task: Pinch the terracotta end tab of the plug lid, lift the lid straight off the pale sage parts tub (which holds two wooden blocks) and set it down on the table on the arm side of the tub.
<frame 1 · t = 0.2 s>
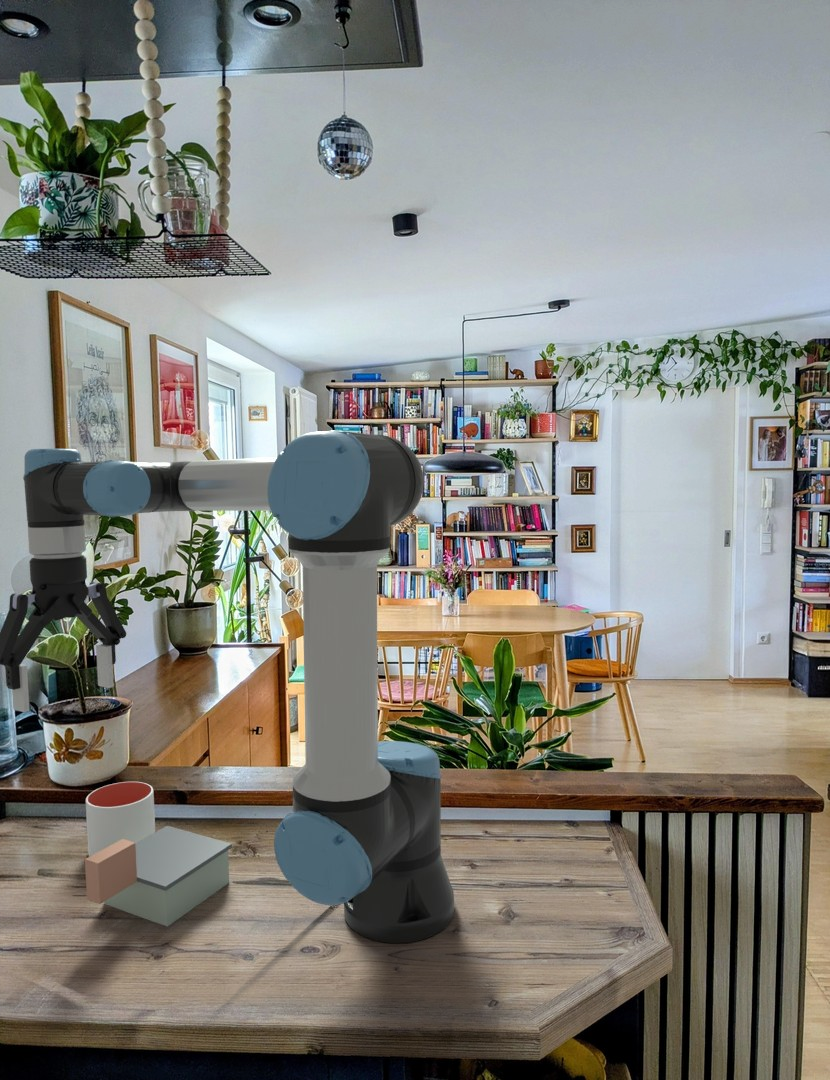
hand: (65, 698, 112), 27 cm above the worktop, fingers open, 13 cm apart
lid: (166, 857, 107), point 6 cm above the worktop, touching tub
cup: (122, 855, 121), on the worktop
part b: (155, 888, 109), point 1 cm above the worktop, touching tub
part a: (181, 897, 107), point 1 cm above the worktop, touching tub
tub: (168, 898, 108), on the worktop
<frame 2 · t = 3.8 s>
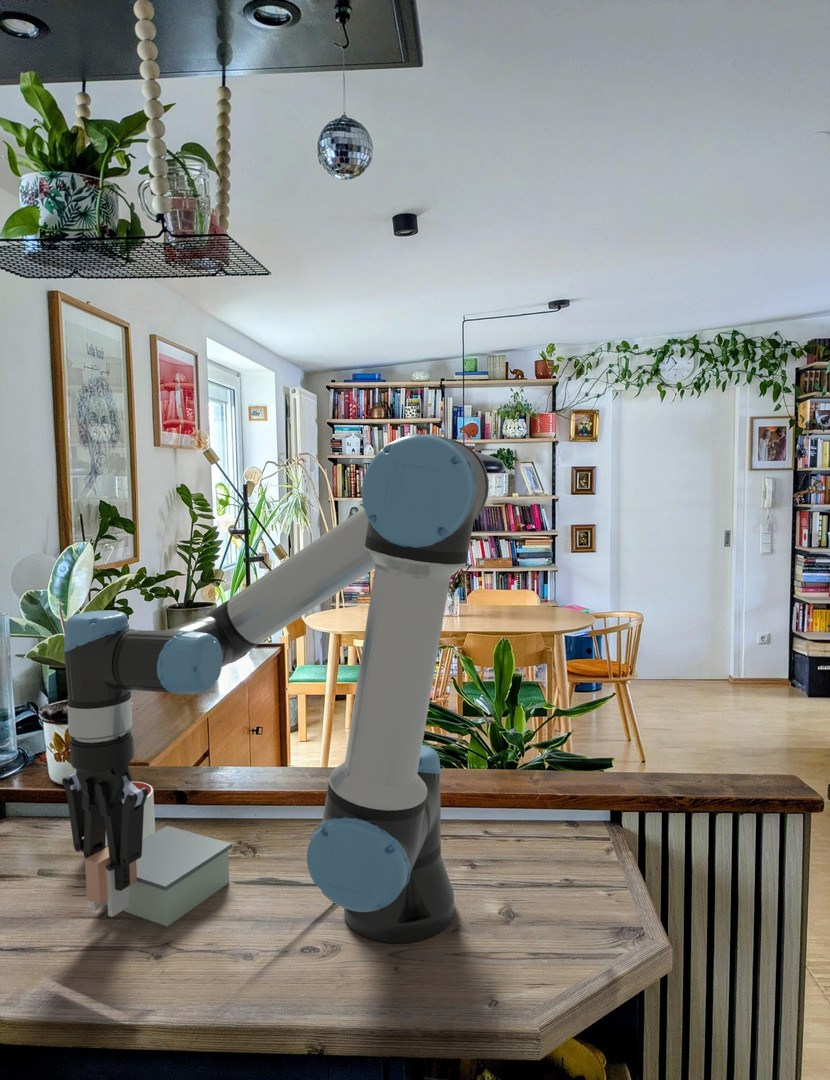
hand: (110, 907, 99), 4 cm above the worktop, fingers closed on lid, 2 cm apart
lid: (166, 857, 107), point 6 cm above the worktop, touching gripper, tub
everything else where it was.
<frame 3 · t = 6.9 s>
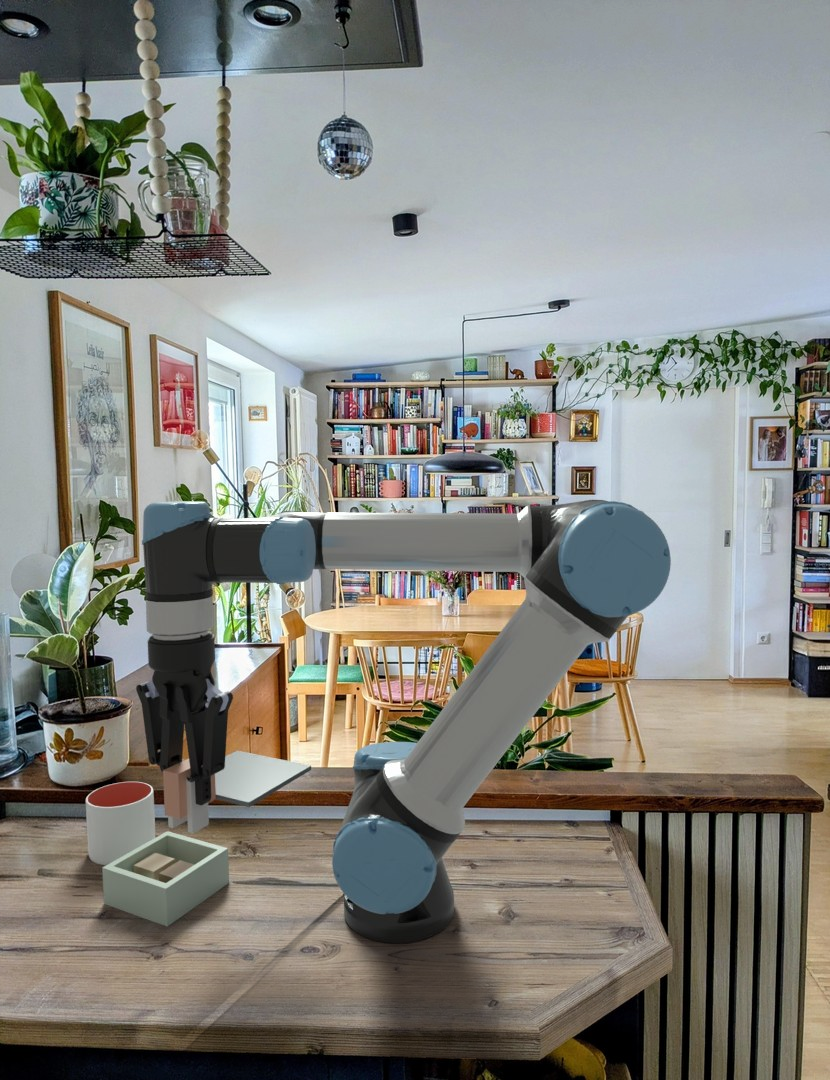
hand: (188, 825, 91), 18 cm above the worktop, fingers closed on lid, 2 cm apart
lid: (242, 778, 100), point 20 cm above the worktop, touching gripper
everything else where it was.
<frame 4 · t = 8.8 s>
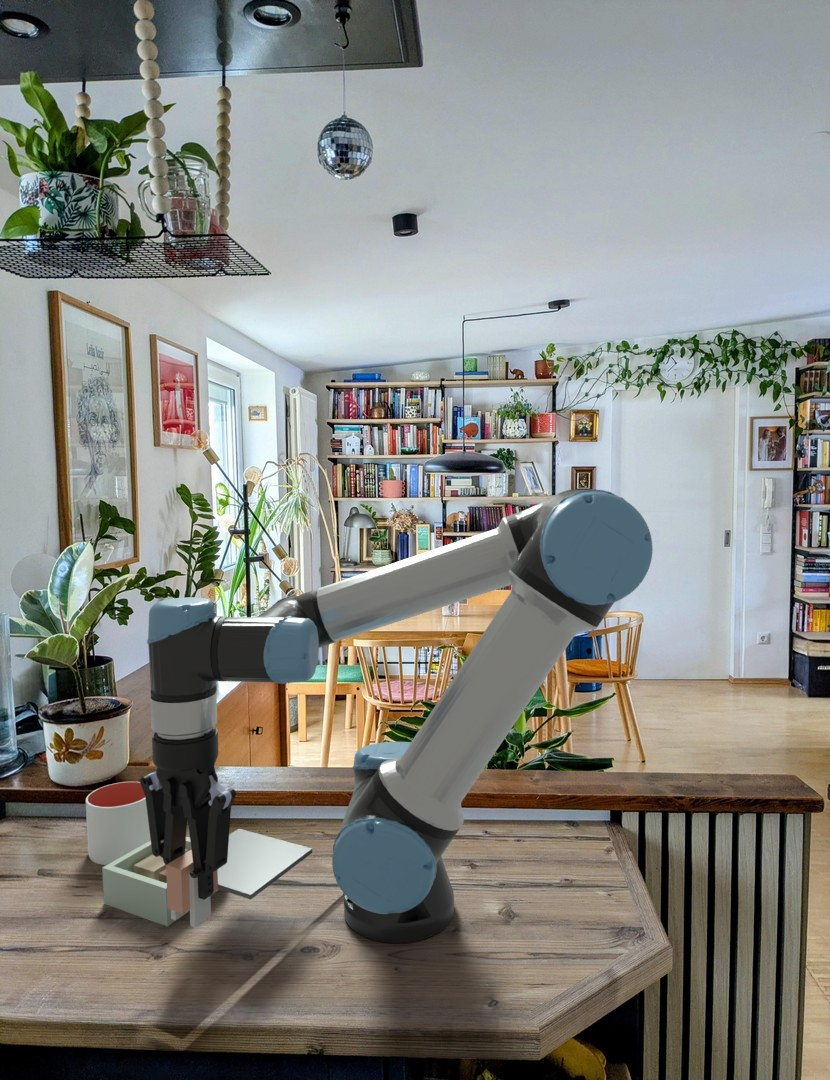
hand: (191, 917, 92), 7 cm above the worktop, fingers closed on lid, 2 cm apart
lid: (244, 863, 101), point 9 cm above the worktop, touching gripper
everything else where it was.
when the fingers open (1 cm above the worktop, at t = 10.5 s): lid drops 3 cm, point 1 cm above the worktop.
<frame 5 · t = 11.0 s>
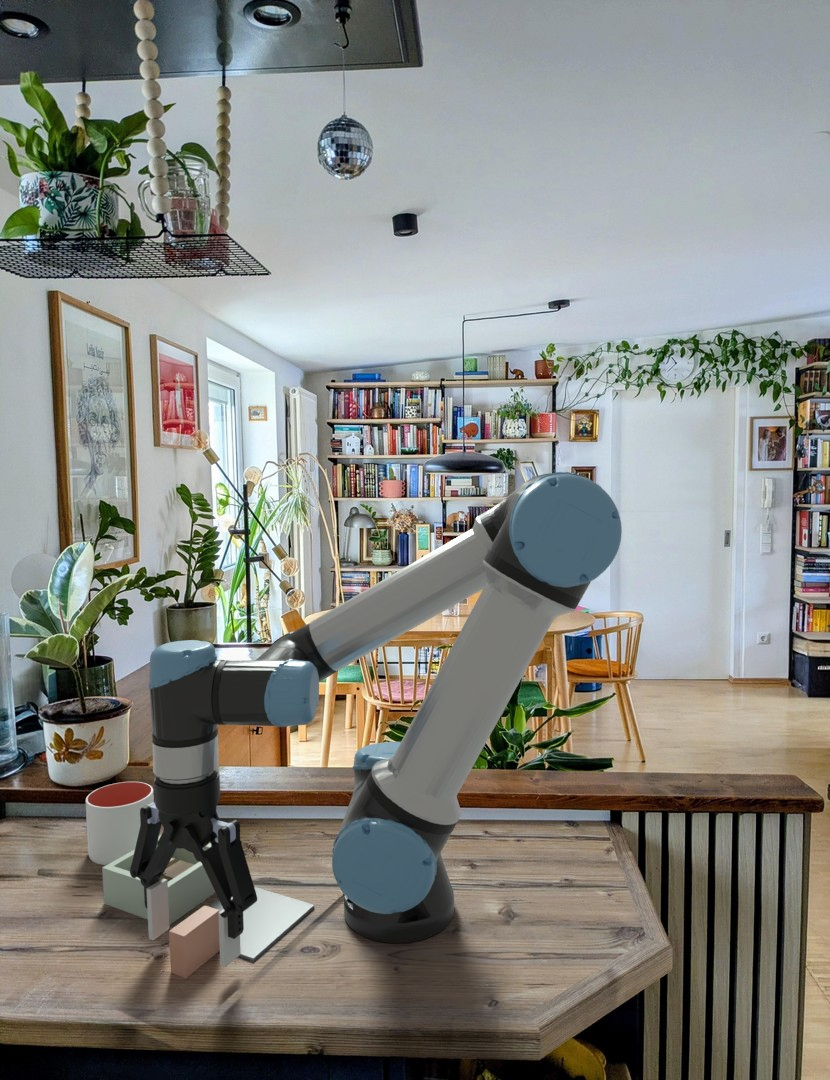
hand: (193, 946, 92), 3 cm above the worktop, fingers open, 11 cm apart
lid: (247, 921, 101), point 1 cm above the worktop
everything else where it was.
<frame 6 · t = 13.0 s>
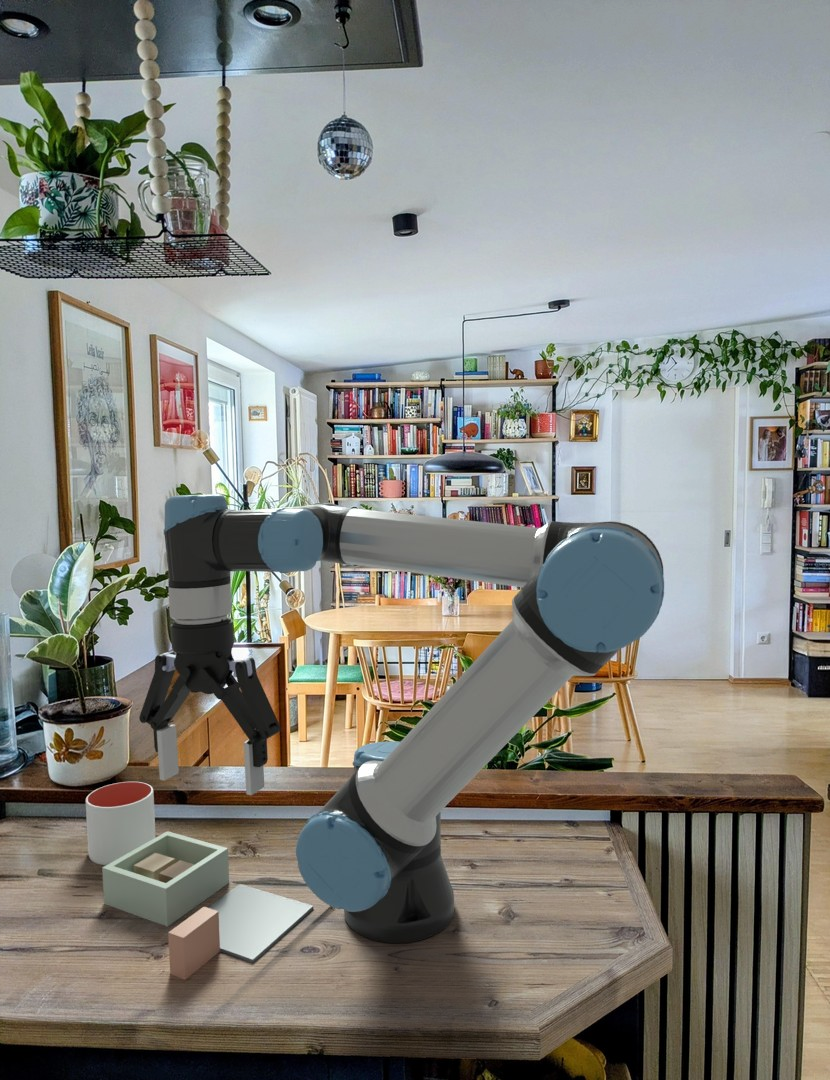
hand: (211, 783, 96), 21 cm above the worktop, fingers open, 13 cm apart
nothing on the worktop moved.
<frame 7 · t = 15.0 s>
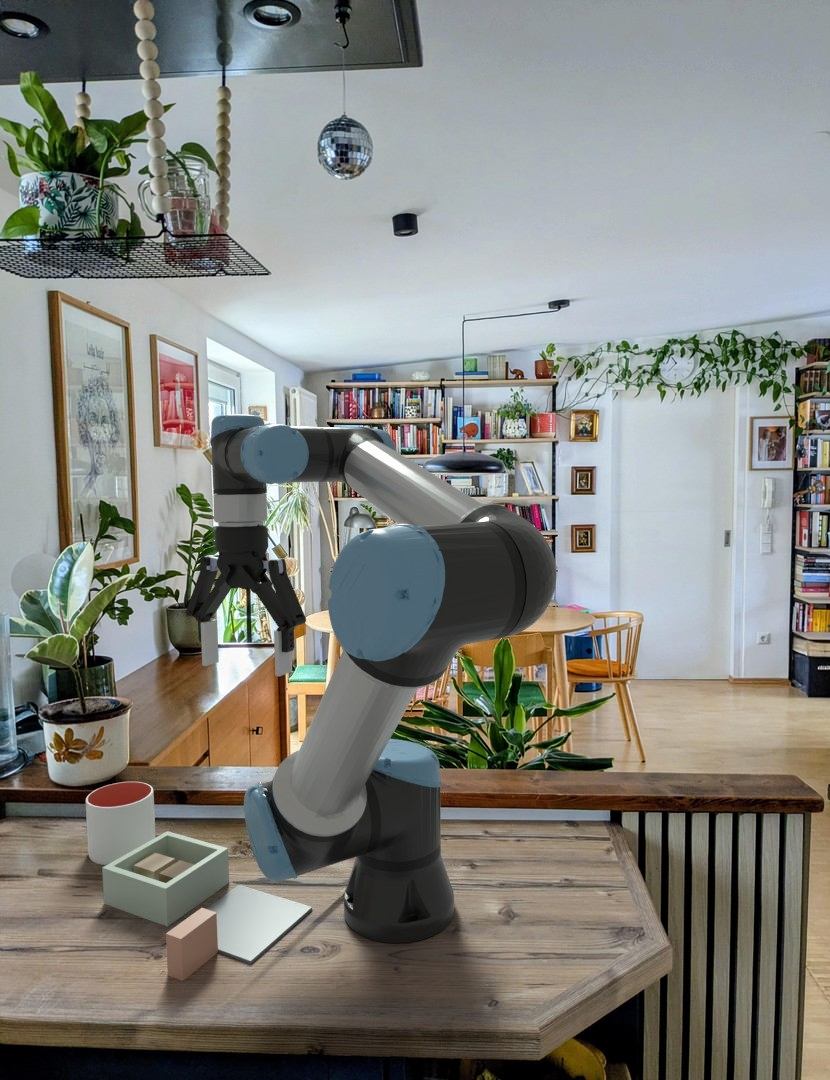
hand: (245, 669, 111), 32 cm above the worktop, fingers open, 13 cm apart
nothing on the worktop moved.
at the end: lid inside the target area (0.7 cm from its centre), point 0.6 cm above the worktop; lid touching worktop; lid tilted 0° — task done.
